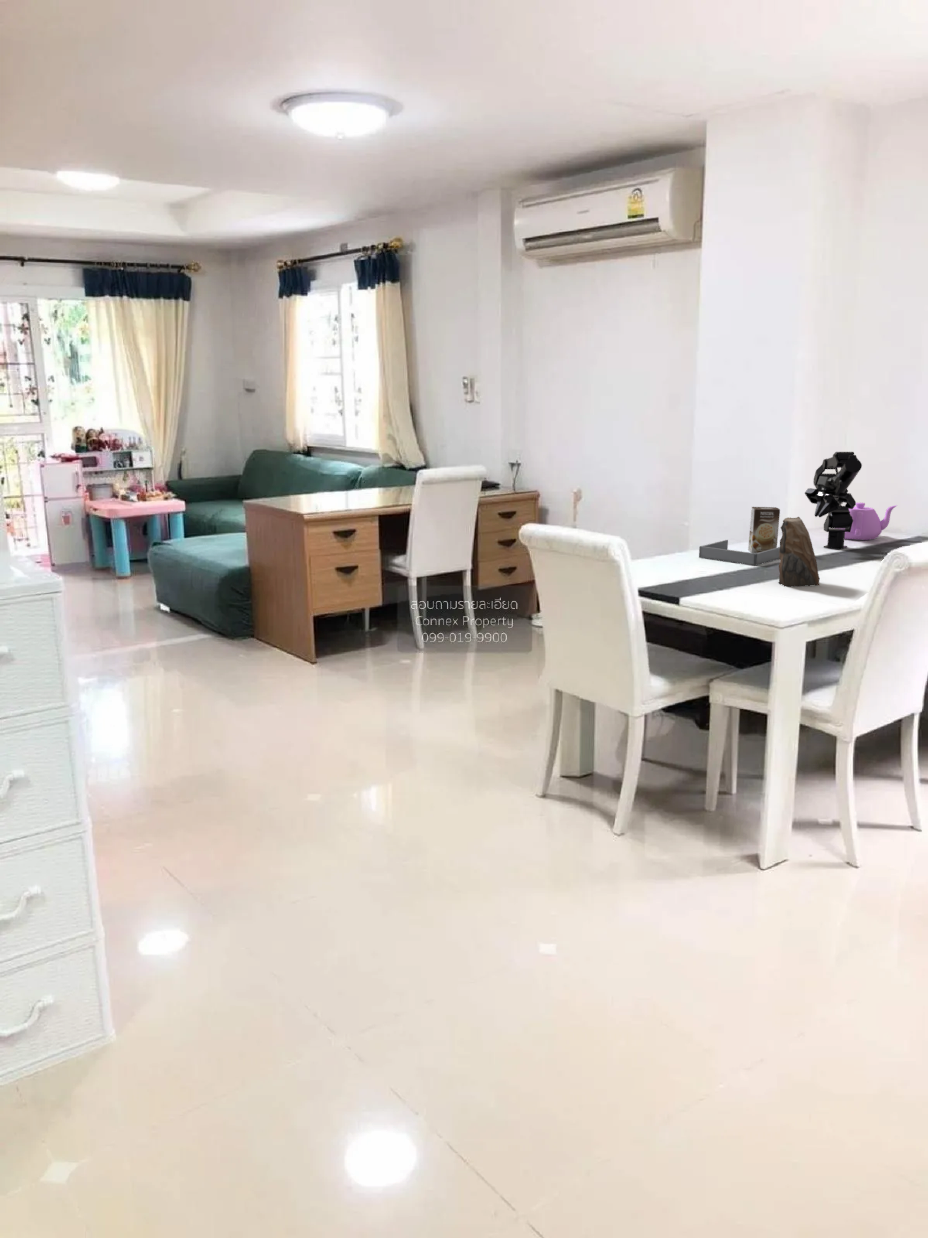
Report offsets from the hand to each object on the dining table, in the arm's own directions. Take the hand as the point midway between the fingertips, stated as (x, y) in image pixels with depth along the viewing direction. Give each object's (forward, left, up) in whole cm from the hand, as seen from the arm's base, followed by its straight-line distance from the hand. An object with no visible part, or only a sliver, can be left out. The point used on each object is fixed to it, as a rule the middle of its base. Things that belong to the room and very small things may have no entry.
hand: (817, 516), depth 348 cm
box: (+25, -16, -14) cm, 32 cm away
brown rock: (+50, +18, -14) cm, 55 cm away
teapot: (-43, -1, -14) cm, 46 cm away
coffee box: (+9, -16, -14) cm, 23 cm away
